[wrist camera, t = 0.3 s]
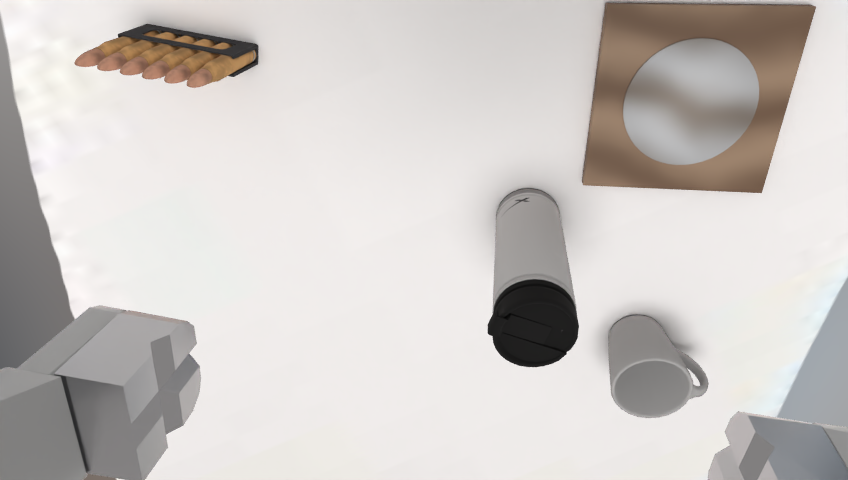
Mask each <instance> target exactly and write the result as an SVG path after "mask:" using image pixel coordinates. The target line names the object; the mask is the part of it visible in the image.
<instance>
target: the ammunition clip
mask: <svg viewBox="0 0 848 480" xmlns="http://www.w3.org/2000/svg"><path fill="white" fill-rule="evenodd" d="M257 64H258V45H257V44H252V43H247V42H242V41H236V40H231V39H226V38H220V37H215V36H209V35H204V34H199V33H193V32H188V31H182V30H177V29H172V28H166V27H161V26H156V25H150V24H146V25H143V26H140V27H137V28H134V29H131V30H128V31H125V32H123V33H120V34H118V38H116V39H113V40H110V41H107V42H104V43H103V44H101V45H100V46H98V47H96V48H94V49H92V50H89V51H87V52H85V53H83V54H82V55H80V56H79V57H78V58H77V59H76V61H75V65H77V66H81V67H90V66H95V65H98V66H97V68H98V69H99V70H102V71H112V70H117V69H120V73H121V74H123V75H135V74H140V73H142V72H143V74H142V77H143V78H145V79H157V78H161V77H164V76H165V79H164V81H165V82H166V83H179V82H183V81H185V80H188V81H187V86H188V87H192V88H196V87H201V86H204V85H206V84H209V83H211V82H216V81H219V80H221V79H223V78H225V77H226V76H232V77H234V76H236V75H238V74H240V73H242V72H244V71H246V70H248V69H250V68H251V67H253V66H255V65H257Z"/></svg>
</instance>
